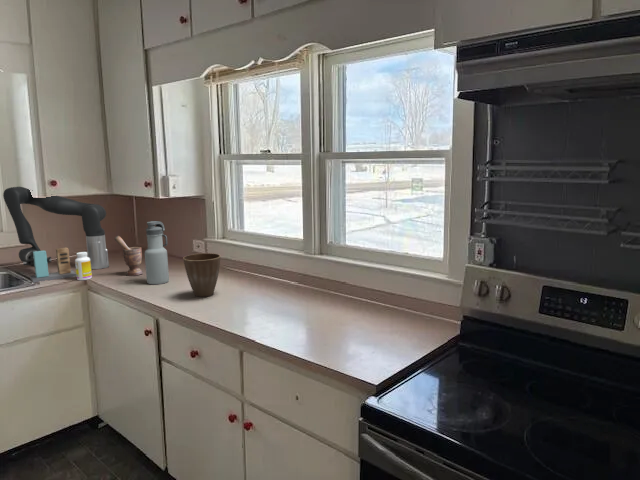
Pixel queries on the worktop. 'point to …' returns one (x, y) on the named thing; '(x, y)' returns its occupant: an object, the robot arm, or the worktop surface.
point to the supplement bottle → (83, 266)
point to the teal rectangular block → (40, 264)
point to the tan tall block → (63, 260)
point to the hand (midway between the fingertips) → (40, 263)
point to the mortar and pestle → (131, 257)
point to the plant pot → (202, 272)
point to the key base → (53, 276)
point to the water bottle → (156, 254)
